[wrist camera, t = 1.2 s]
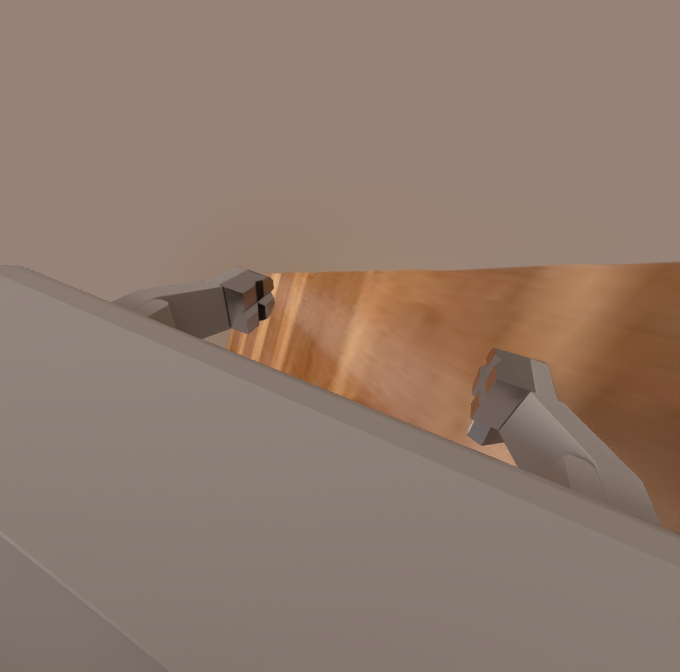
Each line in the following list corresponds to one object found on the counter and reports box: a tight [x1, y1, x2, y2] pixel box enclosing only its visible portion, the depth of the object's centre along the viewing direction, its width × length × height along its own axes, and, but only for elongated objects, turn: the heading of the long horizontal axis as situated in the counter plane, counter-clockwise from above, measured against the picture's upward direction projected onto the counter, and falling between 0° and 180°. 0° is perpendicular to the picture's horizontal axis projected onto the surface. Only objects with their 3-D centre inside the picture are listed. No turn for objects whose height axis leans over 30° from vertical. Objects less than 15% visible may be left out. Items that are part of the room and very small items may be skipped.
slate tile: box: [467, 420, 504, 446], centre depth 37 cm, size 2×8×12 cm, turn 149°
